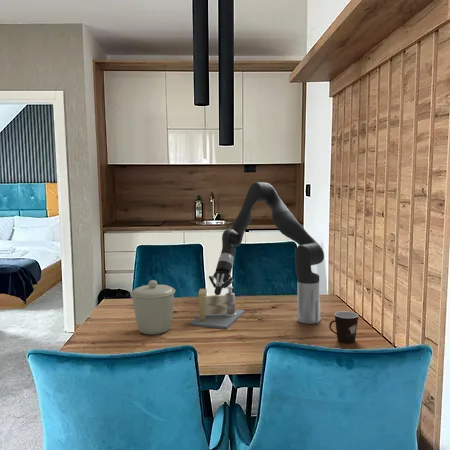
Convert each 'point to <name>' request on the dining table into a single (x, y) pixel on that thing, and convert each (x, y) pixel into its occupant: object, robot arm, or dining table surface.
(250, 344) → the dining table surface
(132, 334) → the dining table surface
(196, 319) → the board
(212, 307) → the white wavy panel
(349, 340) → the coffee mug
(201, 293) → the post
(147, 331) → the canister
